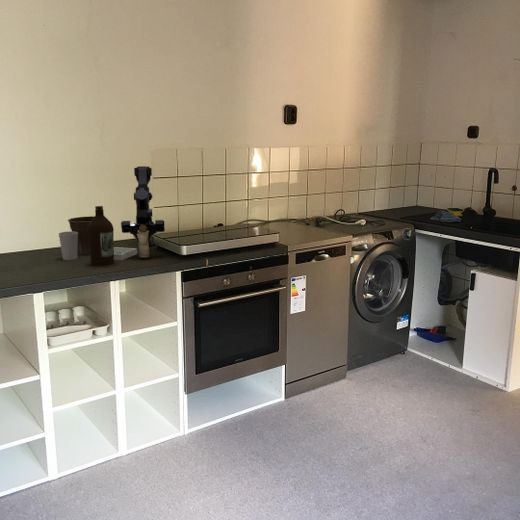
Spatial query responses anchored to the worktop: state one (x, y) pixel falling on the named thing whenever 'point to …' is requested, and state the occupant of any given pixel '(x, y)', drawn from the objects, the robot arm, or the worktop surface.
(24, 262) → the worktop surface
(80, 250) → the plant pot
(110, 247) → the olive oil
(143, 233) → the pepper mill
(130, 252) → the bin
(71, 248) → the cup
